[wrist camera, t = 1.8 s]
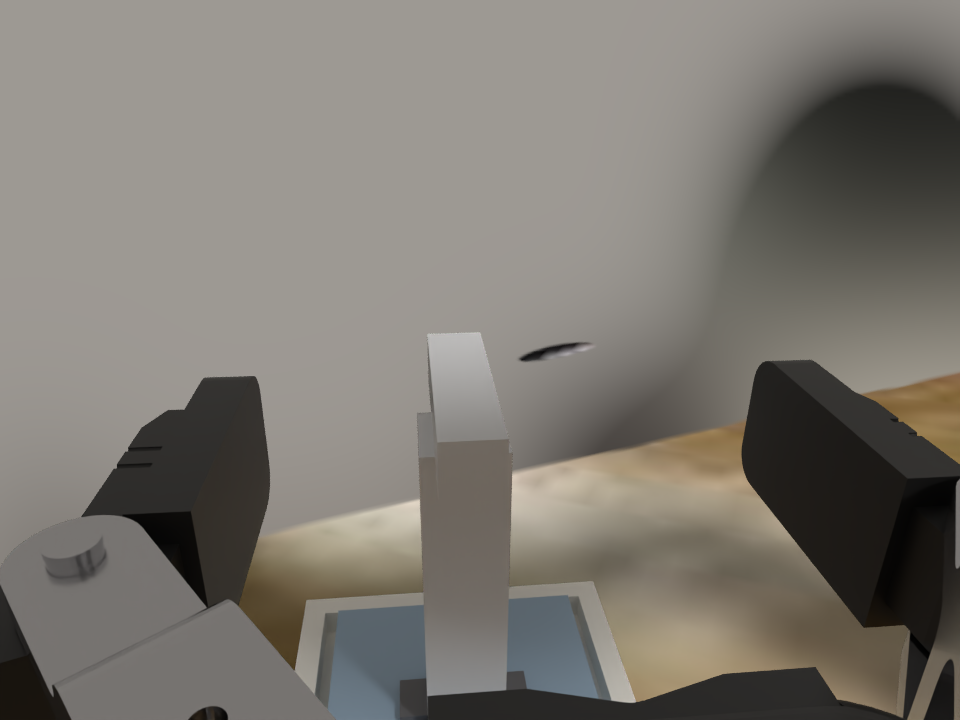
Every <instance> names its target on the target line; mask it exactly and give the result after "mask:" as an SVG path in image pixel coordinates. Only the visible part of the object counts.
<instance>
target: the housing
mask: <svg viewBox="0 0 960 720" xmlns="http://www.w3.org/2000/svg"><path fill="white" fill-rule="evenodd" d="M561 595H568V598H569V601H570V604H571V608H572V611H573V614H574V618H575V621H576V624H577V628H578V631H579V634H580V638H581V641H582V644H583V647H584V651H585V654H586V657H587V661H588V664H589V667H590V671H591V674H592V677H593V681H594V684H595V687H596V691H597V694H598V697H599V699H604V700H611V701H618V702H627V703H634V702H636V700H635V697H634V695H633V692H632V689H631V686H630V683H629V681H628V678H627V675H626V672H625V669H624V666H623V664H622V661H621V658H620V655H619V652H618V650H617V647H616V644H615V641H614V638H613V636H612V633H611V630H610V627H609V624H608V621H607V619H606V616H605V613H604V610H603V607H602V605H601V602H600V599H599V596H598V593H597V591H596V588H595V585H594V582H593V581H585V582H570V583H555V584H540V585H525V586H510V587H509V599H517V598H532V597H546V596H561ZM414 605H424V598H423V592H420V593H405V594H390V595H375V596H360V597H345V598H330V599H315V600H307V601H306V607H305V613H304V619H303V624H302V630H301V636H300V642H299V648H298V654H297V660H296V666H295V672H296V673H297V675H298V676H299V677H300V678H301V679H302V680H303V682H304V683H305V684H306V685H307V686H308V687H309V689H310V690H311V691H312V692H313V693H314V694H315V695H316V697H317V698H318V699H319V700H320V701H321V702H322V704H323V705H324V706H325V707H326V708H327V709H328V701H329V692H330V683H331V674H332V664H333V655H334V646H335V637H336V628H337V619H338V611H341V610H356V609H370V608H385V607H400V606H414Z"/></svg>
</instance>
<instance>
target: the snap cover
mask: <svg viewBox="0 0 960 720" xmlns="http://www.w3.org/2000/svg"><path fill="white" fill-rule="evenodd" d="M427 336H428V337H427V338H428V339H427V340H428V374H429V375H428V377H429V392H430V405H431V412H430V413H417V424H418V425H417V426H418V455H419V484H420V512H421V541H422V570H423V598H424V605H414V606H400V607H385V608H370V609H356V610H341V611H338V619H337V628H336V637H335V646H334V655H333V664H332V674H331V683H330V692H329V701H328V711H329V712H330V713H331V714H332V715H333V716H334V718H335V719H336V720H428V697H427V696H434V695H448V694H461V693H474V692H488V691H501V690H515V689H533V690H540V691H547V692H554V693H561V694H568V695H575V696H582V697H590V698H597V699H599V697H598V694H597V691H596V687H595V684H594V681H593V677H592V674H591V671H590V667H589V664H588V661H587V657H586V654H585V651H584V647H583V644H582V641H581V638H580V634H579V631H578V628H577V624H576V621H575V618H574V614H573V611H572V608H571V604H570V601H569V598H568V595H561V596H546V597H532V598H517V599H509V568H510V531H511V494H512V457H513V456H512V455H513V454H512V449H511V446H510V442H509V436H508V433H507V429H506V425H505V422H504V418H503V414H502V411H501V407H500V403H499V400H498V397H497V393H496V389H495V385H494V381H493V378H492V374H491V370H490V367H489V363H488V359H487V355H486V352H485V348H484V344H483V341H482V337H481V333H480V332H476V333H445V334H428V335H427Z"/></svg>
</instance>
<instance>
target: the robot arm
mask: <svg viewBox="0 0 960 720" xmlns="http://www.w3.org/2000/svg"><path fill="white" fill-rule="evenodd" d="M742 464H743V469H744V472H745V475H746V478H747V480H748V482H749V483H750V485H751V486H752V487H753V489H754V490H755V491H756V492H757V494H758V495H759V496H760V497H761V499H762V500H763V501H764V502H765V504H766V505H767V506H768V508H769V509H770V510H771V511H772V513H773V514H774V515H775V516H776V518H777V519H778V520H779V521H780V523H781V524H782V525H783V526H784V528H785V529H786V530H787V531H788V533H789V534H790V535H791V537H792V538H793V539H794V540H795V542H796V543H797V544H798V545H799V547H800V548H801V549H802V550H803V552H804V553H805V554H806V555H807V557H808V558H809V559H810V560H811V562H812V563H813V564H814V566H815V567H816V568H817V569H818V571H819V572H820V573H821V574H822V576H823V577H824V578H825V579H826V581H827V582H828V583H829V584H830V586H831V587H832V588H833V590H834V591H835V592H836V593H837V595H838V596H839V597H840V598H841V600H842V601H843V602H844V603H845V605H846V606H847V607H848V608H849V610H850V611H851V612H852V613H853V615H854V616H855V617H856V619H857V620H858V621H859V622H860V624H861V625H862V626H863V627H864V628H867V627H881V626H896V625H905V626H906V627H907V628H908V629H909V630H908V633H907V637H906V640H905V643H904V646H903V649H902V653H901V663H900V674H899V684H898V694H897V705H896V715H894V714H891V713H888V712H885V711H882V710H879V709H876V708H873V707H869V706H865V705H861V704H856V703H852V702H848V701H843V700H837V699H836V697H835V696H834V694H833V693H832V691H831V690H830V688H829V687H828V685H827V684H826V682H825V681H824V679H823V678H822V676H821V675H820V673H819V672H818V670H817V669H816V667H811V668H798V669H784V670H771V671H757V672H744V673H730V674H722V675H719V676H716V677H713V678H710V679H707V680H704V681H701V682H698V683H695V684H692V685H689V686H686V687H683V688H680V689H677V690H674V691H672V692H669V693H666V694H663V695H660V696H657V697H654V698H651V699H648V700H645V701H641V702H634V703H627V702H618V701H611V700H604V699H597V698H590V697H582V696H575V695H568V694H561V693H554V692H547V691H540V690H533V689H515V690H501V691H488V692H474V693H461V694H448V695H434V696H427V697H428V720H960V464H958V463H957V462H956V461H954V460H953V459H952V458H950V457H949V456H948V455H946V454H945V453H944V452H942V451H941V450H940V449H938V448H937V447H936V446H934V445H933V444H932V443H930V442H929V441H928V440H926V439H925V438H924V437H922V436H917V432H916V431H914V430H913V429H912V428H910V427H909V426H908V425H906V424H905V423H904V422H899V421H898V418H897V417H896V416H894V415H893V414H892V413H890V412H889V411H888V410H886V409H885V408H884V407H882V406H881V405H880V404H879V403H877V402H876V401H873V400H871V399H869V398H867V397H865V396H862V395H860V394H858V393H856V392H854V391H852V390H851V389H850V388H848V387H847V386H846V385H844V384H843V383H842V382H841V381H839V380H838V379H837V378H836V377H834V376H833V375H832V374H830V373H829V372H828V371H826V370H825V369H824V368H822V367H821V366H820V365H819V364H817V363H816V362H814V361H812V360H793V361H765V362H763V363H762V364H761V365H760V366H759V367H758V369H757V371H756V374H755V378H754V383H753V388H752V394H751V399H750V405H749V410H748V416H747V421H746V427H745V432H744V438H743V443H742ZM269 490H270V469H269V460H268V451H267V443H266V435H265V428H264V419H263V411H262V403H261V395H260V389H259V384H258V381H257V379H256V377H255V376H247V377H246V376H244V377H212V378H204V379H203V380H202V381H201V383H200V385H199V386H198V388H197V389H196V391H195V393H194V394H193V396H192V398H191V400H190V401H189V403H188V405H187V406H186V408H185V410H168V411H166V412H164V413H163V414H162V415H160V416H159V417H157V418H156V419H154V420H153V421H151V422H150V423H148V424H147V425H145V426H144V427H142V428H141V430H140V431H139V433H138V434H137V436H136V437H135V438H134V440H133V441H132V443H131V444H130V446H129V447H128V452H125V453H124V455H123V456H122V458H121V459H120V461H119V462H118V464H117V469H113V471H112V472H111V474H110V475H109V477H108V478H107V480H106V481H105V483H104V484H103V486H102V488H101V489H100V490H99V492H98V493H97V495H96V496H95V498H94V499H93V500H92V502H91V503H90V505H89V506H88V508H87V509H86V511H85V512H84V514H83V515H82V517H81V518H76V519H73V520H68V521H65V522H62V523H59V524H57V525H54V526H51V527H49V528H47V529H44V530H42V531H40V532H39V533H37V534H35V535H33V536H31V537H30V538H28V539H27V540H25V541H23V542H22V543H21V544H20V545H18V546H17V547H16V548H15V549H14V550H13V551H12V552H11V553H10V554H9V555H8V556H7V557H6V559H5V560H4V562H3V563H2V565H1V568H0V720H336V719H335V718H334V716H333V715H332V714H331V713H330V712H329V711H328V709H327V708H326V707H325V706H324V705H323V704H322V702H321V701H320V700H319V699H318V698H317V697H316V695H315V694H314V693H313V692H312V691H311V690H310V689H309V687H308V686H307V685H306V684H305V683H304V682H303V680H302V679H301V678H300V677H299V676H298V675H297V673H296V672H295V671H294V670H293V669H292V668H291V667H290V665H289V664H288V663H287V662H286V661H285V660H284V658H283V657H282V656H281V655H280V654H279V653H278V651H277V650H276V649H275V648H274V647H273V646H272V645H271V643H270V642H269V641H268V640H267V639H266V638H265V636H264V635H263V634H262V633H261V632H260V631H259V629H258V628H257V627H256V626H255V625H254V624H253V623H252V621H251V620H250V619H249V618H248V617H247V616H246V614H245V613H244V612H243V611H242V610H241V609H240V608H239V607H238V605H239V601H240V598H241V595H242V591H243V588H244V584H245V581H246V577H247V574H248V570H249V567H250V564H251V560H252V557H253V553H254V550H255V546H256V543H257V540H258V536H259V533H260V529H261V525H262V522H263V519H264V515H265V512H266V509H267V505H268V499H269Z"/></svg>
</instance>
